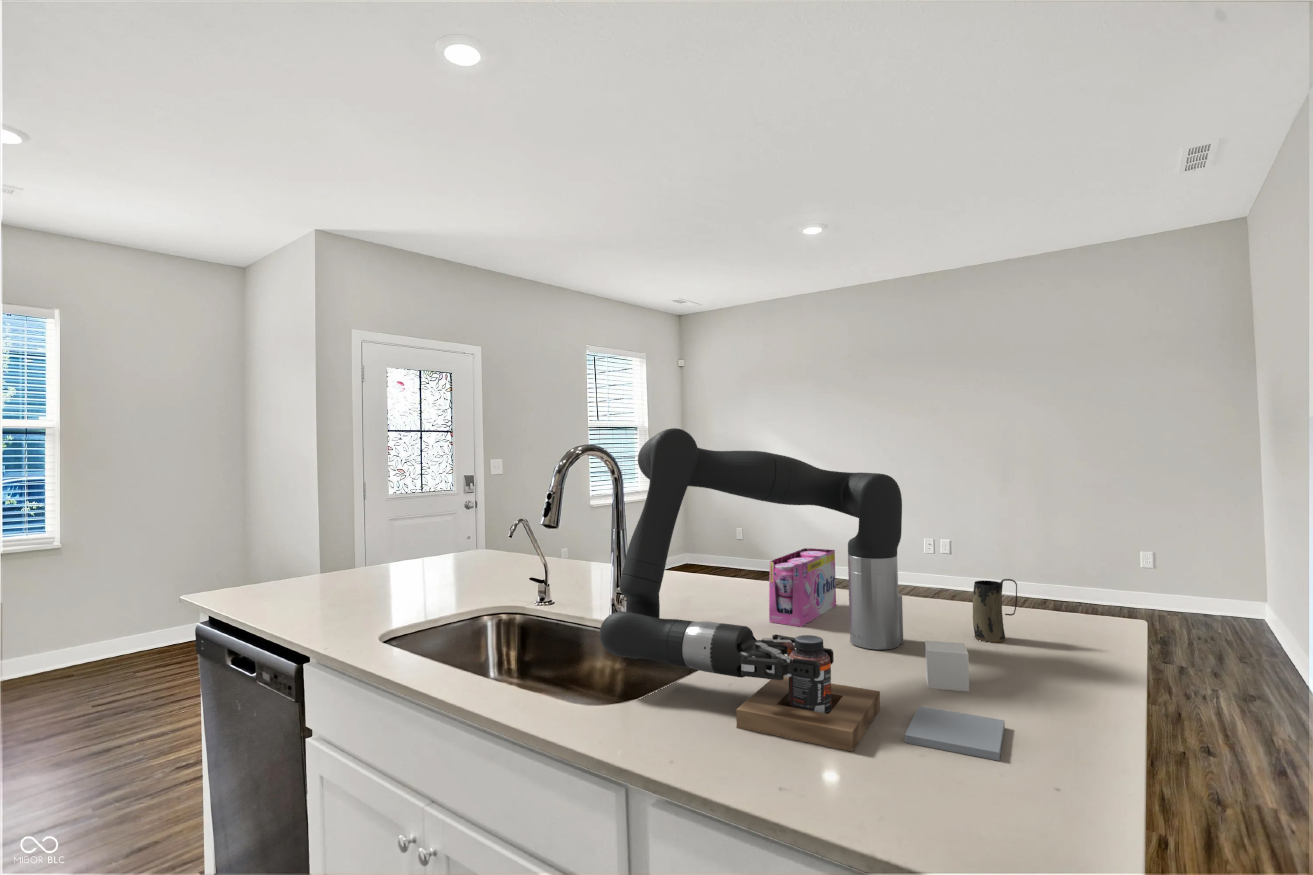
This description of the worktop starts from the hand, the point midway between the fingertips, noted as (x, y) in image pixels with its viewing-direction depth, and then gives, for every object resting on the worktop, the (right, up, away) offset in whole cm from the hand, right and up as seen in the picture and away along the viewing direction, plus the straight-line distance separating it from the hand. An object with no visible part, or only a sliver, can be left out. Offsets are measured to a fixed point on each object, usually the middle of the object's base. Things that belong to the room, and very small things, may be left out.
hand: (825, 663), depth 96 cm
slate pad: (+16, -8, -6) cm, 19 cm away
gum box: (+10, -9, +60) cm, 62 cm away
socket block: (-2, -8, +1) cm, 8 cm away
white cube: (+23, -8, +14) cm, 28 cm away
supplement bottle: (-2, -8, +1) cm, 9 cm away
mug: (+43, -8, +37) cm, 57 cm away
